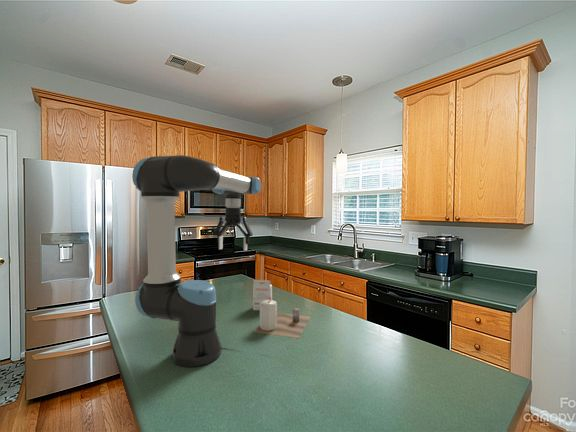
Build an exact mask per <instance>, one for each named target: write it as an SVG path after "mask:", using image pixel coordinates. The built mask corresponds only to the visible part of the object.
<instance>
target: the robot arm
mask: <svg viewBox="0 0 576 432" xmlns="http://www.w3.org/2000/svg"><path fill="white" fill-rule="evenodd" d="M131 175H132V176H131V178H132V184H133V185H134V186H135V188H136V189H137V190H138V191H139V192H140V198H141V199H142V200H143V201H145V203H146V235H147V236H146V237H147V239H146V240H147V241H146V242H147V275H146V276H145V278H143V280H142V281H143V282H142V284H141V285H140V286H139V287H138V288H137V291H136V292H135V300H134V301H135V307H136V310H137V311H138V312H139V313H140V314H142V316H145V317H148V318H150V319H151V318H152V319H159V320H167V321H174V322H177V323H178V324H177V325H178V331H177V333H178V334H177V336H176V340H175V342H174V345H173V349H172V362H173V363H174V364H175V365H177V366H181V367H183V368H184V367H187V368H193V367H200V366H205V365H208V364H211V363H213V362H214V361H216V360H217V359H218V358H219V357H221V354H222V343H221V340H220V337H219V335H218V332H217V292H216V287H215V285H214V284H213V283H211V282H210V281H209V282H208V281H205V280H202V279H196V280H195V279H187V280H183V281H181V280H182V278H181V277H182V276H181V275H180V274H179V273H178V272H177V265H176V264H177V261H176V256H177V255H176V254H177V252H176V207H175V206H176V204H175V203H176V201H177V200H178V199H180V192H191V191H192V192H193V191H201V190H202V191H203V190H204V191H212V192H213V193H215V194H218V195H225V216H220V217H219V221H218V223H217V226H216V228H215V230H214V232H213V236H216V237H217V244H218V250H223V248H224V245H223V244H224V243H223V242H224V236H223V234H224V233H225V231H226V230H227V229H228V228H229V227H237V228H238V230H240V232H241V233H242V234H243V236H244V237H243V251H245V252H246V251H248V244H250V237H253V235H254V234H253V231H252V230H251V228H250V224H249V223H248V219H247V217H246V216H244V217H243V216H241V215H242V209H241V207H242V205H241V204H242V197H241V195H256V194H257V195H258V194H260V193H261V191H262V182H261V179H260V178H259V177H257V176H250V177H249V176H244V175H242V174H238V173H235V172H232V171H228V170H226V169H223V168H218V166H217V165H216V164H214V163H213V162H210V161H206V160H203V159H201V158H196V157H194V156H189V155H184V154H183V155H181V154H178V155H162V156H161V155H158V156H150V157H145V158H142V159H139V161H137V162H136V164H135V165H134V167H133V169H132V174H131ZM224 222H225V223H224ZM241 222H242V223H241ZM242 224H243V225H242Z"/></svg>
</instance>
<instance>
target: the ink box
mask: <svg viewBox="0 0 576 432" xmlns="http://www.w3.org/2000/svg"><path fill="white" fill-rule="evenodd" d="M252 282H253V286H252V310H253V311H260V304H261V302H262V301H264V300H273V284H271V280H270V279H269V280H268V279H253V281H252Z"/></svg>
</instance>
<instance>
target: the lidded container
mask: <svg viewBox="0 0 576 432" xmlns="http://www.w3.org/2000/svg"><path fill="white" fill-rule="evenodd" d="M277 313H278V304H277V301H276V300H273V299H272V300H264V301H262V302H261V304H260V310H259V325H260V328H261V329H262V330H268V331H269V330H274V329H276V327H277Z"/></svg>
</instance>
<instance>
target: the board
mask: <svg viewBox="0 0 576 432" xmlns="http://www.w3.org/2000/svg"><path fill="white" fill-rule="evenodd" d="M311 317H312V316H309V315H301V314H300V308H297V307H294V308H292V314H291V313H284V312H283V313H282V312H277V327H276V329H274V330H269V331H268V330H262V329H261V328H260V324H259V325H258V326H257V327H256V328H255V329H254V330H253V333H258V334H266V335H273V336H281V337H285V338H286V337H287V338H295V339H299V338H300V336H301V335H302V333H303V331H304V330H305V328H306V326H308V325H307V324H308V323H309V321H310V319H311Z"/></svg>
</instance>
